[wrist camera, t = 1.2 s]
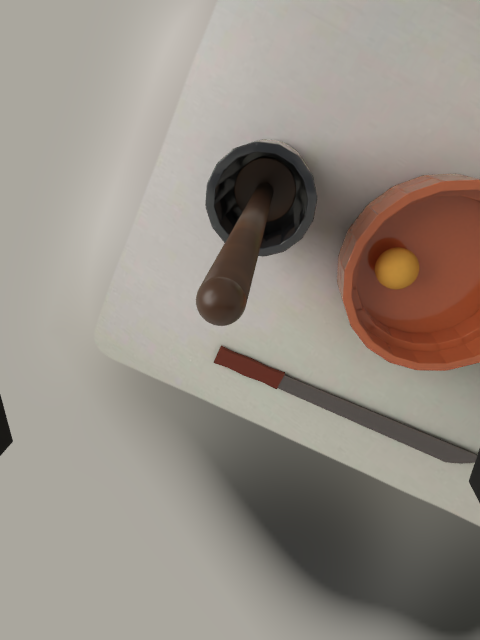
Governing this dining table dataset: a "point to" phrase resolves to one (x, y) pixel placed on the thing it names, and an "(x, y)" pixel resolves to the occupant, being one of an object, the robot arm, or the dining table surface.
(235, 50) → the dining table surface
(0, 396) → the robot arm
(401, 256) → the ball
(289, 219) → the crock
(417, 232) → the orange plant saucer
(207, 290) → the wooden plunger
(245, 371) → the knife
